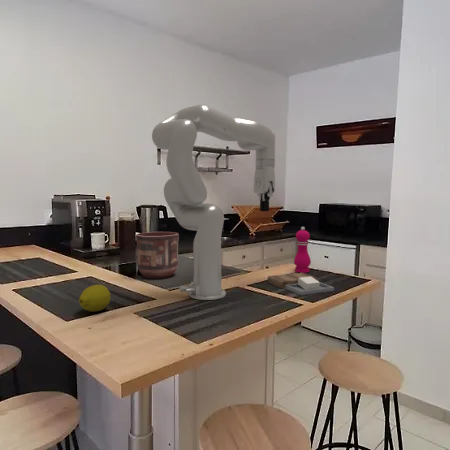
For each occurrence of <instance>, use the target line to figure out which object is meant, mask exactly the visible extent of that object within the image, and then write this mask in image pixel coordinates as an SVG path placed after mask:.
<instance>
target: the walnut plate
mask: <svg viewBox="0 0 450 450" xmlns="http://www.w3.org/2000/svg"><path fill="white" fill-rule="evenodd" d="M310 276H311V277H313V278H314V279H316V280H317V281H318V277H316V276H313V275H310V274H308V273H298V272H294V273H285V274H278V275H277V274H276V275H269V276H267V283H268V284H269V285H270V284H271V286H272V285H273V286H275V287H277V288H279V289H285V285H289V284H297V283H298V278H301V277H310Z"/></svg>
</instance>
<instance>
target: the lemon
mask: <svg viewBox="0 0 450 450" xmlns="http://www.w3.org/2000/svg"><path fill="white" fill-rule="evenodd" d="M111 297H112V296H111V292H110V290H109V288H108V287H106V286H105V285H103V284H93V285H90V286H88V287H86V288H84V290H82V292H81V293H80V296H79V299H78V303H79V305H80V306H81V308H82V309H83V310H85V311H88V312H92V313H95V312H100V311H102V310H104V309H105V308H107V306H109V304H110V302H111Z"/></svg>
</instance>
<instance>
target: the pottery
mask: <svg viewBox="0 0 450 450" xmlns="http://www.w3.org/2000/svg"><path fill="white" fill-rule="evenodd" d="M179 239H180V233H178V232H176V231H175V232H174V231H173V232H172V231H150V232H149V231H147V232H141V233H137V234H136V235H135V240H136V250H137V251H136V252H137V253H136V254H137V269H138V271H139V273H140V274H141V275H142V276H143V278H146V279H152V280H154V279H155V280H158V279H159V280H160V279H166V278H170V277H172V276H173V275H174V274H175V273H176V271H177V269H178V267H179V252H178V251H179V250H178V249H179Z"/></svg>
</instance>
